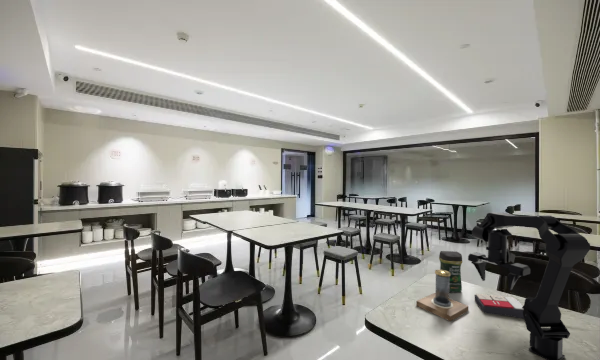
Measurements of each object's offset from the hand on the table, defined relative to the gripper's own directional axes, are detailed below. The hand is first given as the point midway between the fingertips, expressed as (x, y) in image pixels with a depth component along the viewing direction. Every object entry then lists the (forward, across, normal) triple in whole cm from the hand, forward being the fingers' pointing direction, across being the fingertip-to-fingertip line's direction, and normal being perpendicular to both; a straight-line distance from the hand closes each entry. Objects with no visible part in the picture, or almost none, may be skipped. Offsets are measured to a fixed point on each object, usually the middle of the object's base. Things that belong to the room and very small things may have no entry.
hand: (496, 285), depth 98 cm
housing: (+11, +14, +12) cm, 21 cm away
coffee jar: (+13, +24, -8) cm, 29 cm away
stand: (+13, +14, +12) cm, 23 cm away
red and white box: (+14, +3, -9) cm, 17 cm away
